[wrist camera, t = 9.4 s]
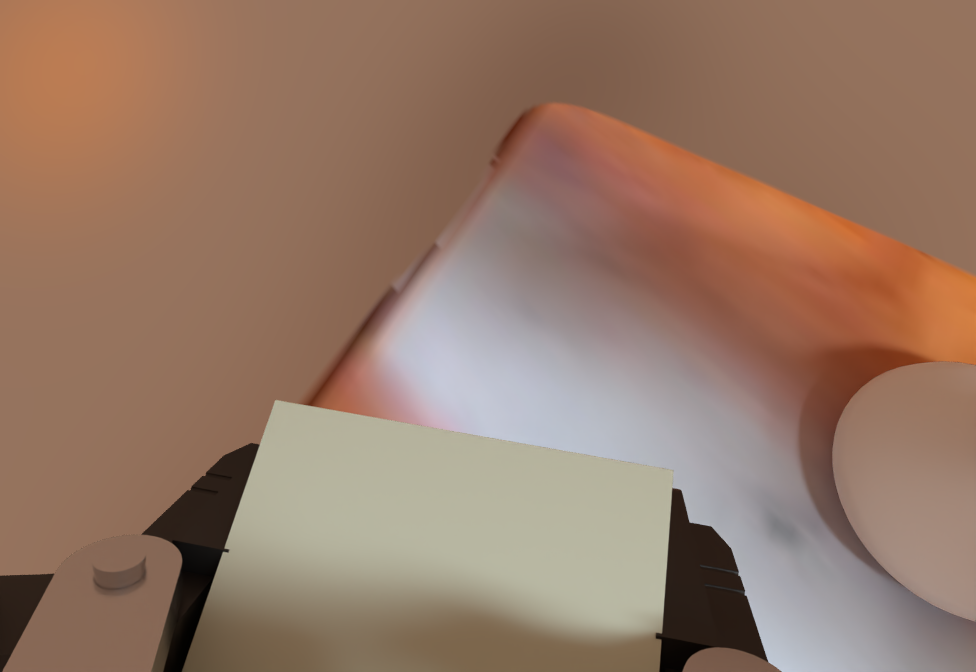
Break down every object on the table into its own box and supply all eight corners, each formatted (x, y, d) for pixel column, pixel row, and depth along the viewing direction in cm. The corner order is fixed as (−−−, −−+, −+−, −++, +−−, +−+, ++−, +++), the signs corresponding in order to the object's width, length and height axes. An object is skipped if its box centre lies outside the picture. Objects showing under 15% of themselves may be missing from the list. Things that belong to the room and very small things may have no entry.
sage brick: (591, 570, 16) (673, 470, 8) (567, 778, 14) (644, 874, 7) (372, 529, 16) (275, 400, 9) (322, 725, 14) (150, 762, 7)
